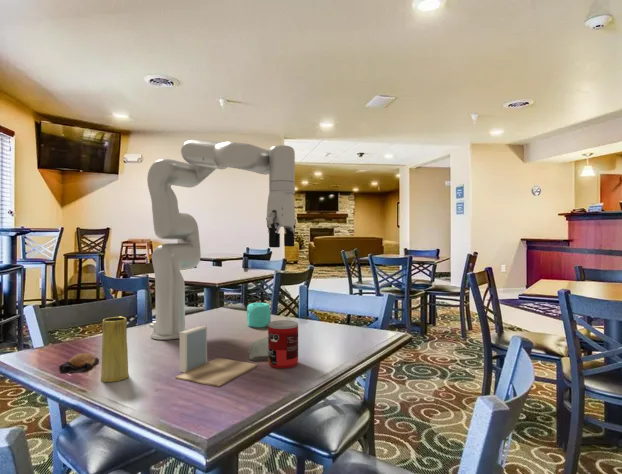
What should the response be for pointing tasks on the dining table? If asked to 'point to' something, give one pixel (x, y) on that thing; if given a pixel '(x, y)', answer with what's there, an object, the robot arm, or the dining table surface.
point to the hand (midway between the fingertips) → (282, 246)
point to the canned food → (283, 344)
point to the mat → (217, 372)
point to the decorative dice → (258, 315)
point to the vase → (114, 350)
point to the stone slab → (259, 350)
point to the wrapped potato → (79, 364)
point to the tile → (193, 348)
